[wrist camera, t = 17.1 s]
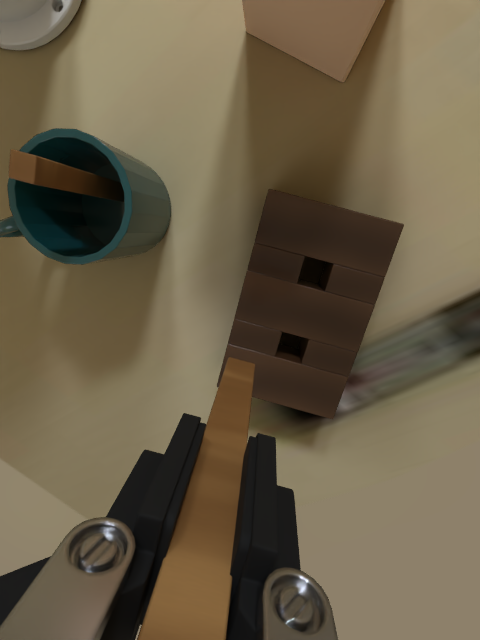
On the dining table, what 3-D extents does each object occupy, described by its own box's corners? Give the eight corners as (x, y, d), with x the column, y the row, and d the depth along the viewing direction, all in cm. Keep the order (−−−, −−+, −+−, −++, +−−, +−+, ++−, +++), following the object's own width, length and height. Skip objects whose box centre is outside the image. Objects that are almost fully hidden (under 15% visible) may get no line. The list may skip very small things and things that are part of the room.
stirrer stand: (269, 193, 30) (268, 188, 26) (387, 225, 30) (404, 224, 26) (222, 369, 34) (216, 387, 30) (326, 398, 34) (333, 419, 30)
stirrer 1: (118, 182, 30) (9, 148, 18) (134, 186, 30) (36, 155, 18) (115, 199, 31) (7, 177, 18) (131, 203, 31) (33, 184, 18)
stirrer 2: (228, 356, 18) (132, 652, 5) (255, 363, 18) (222, 677, 5) (222, 381, 18) (117, 712, 6) (248, 388, 18) (202, 736, 6)
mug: (153, 145, 30) (105, 109, 21) (183, 241, 32) (148, 245, 23) (31, 185, 32) (-60, 168, 23) (65, 275, 34) (-8, 290, 25)
